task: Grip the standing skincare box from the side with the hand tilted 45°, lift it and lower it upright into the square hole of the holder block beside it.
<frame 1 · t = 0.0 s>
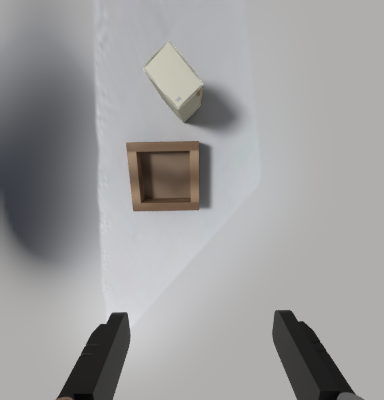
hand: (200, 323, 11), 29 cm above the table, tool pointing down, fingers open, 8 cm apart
holder block: (167, 174, 38), on the table
skincare box: (180, 100, 34), on the table
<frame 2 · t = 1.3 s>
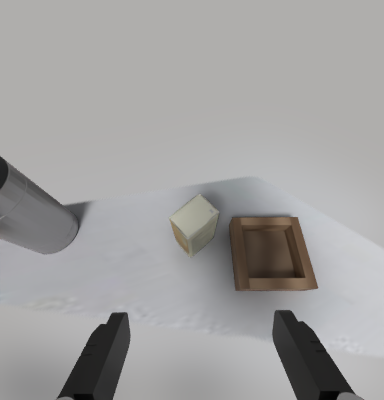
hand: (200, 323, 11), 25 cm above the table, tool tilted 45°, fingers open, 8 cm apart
holder block: (264, 255, 37), on the table
skincare box: (194, 240, 38), on the table
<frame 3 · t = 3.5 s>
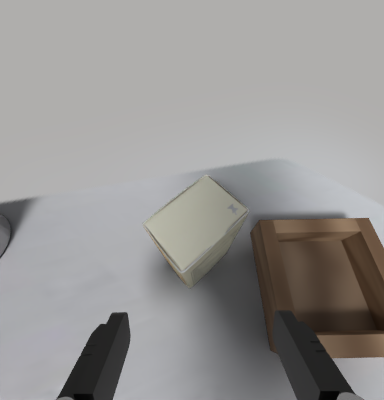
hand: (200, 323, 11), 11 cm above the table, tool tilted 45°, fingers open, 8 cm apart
holder block: (312, 282, 22), on the table
skincare box: (196, 258, 24), on the table
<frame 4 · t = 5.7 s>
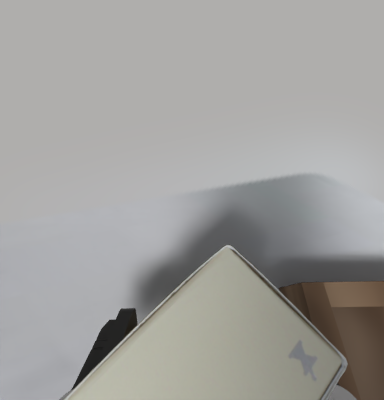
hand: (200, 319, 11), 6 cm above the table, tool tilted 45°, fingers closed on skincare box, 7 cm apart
holder block: (383, 379, 14), on the table
skincare box: (198, 331, 16), on the table, touching gripper
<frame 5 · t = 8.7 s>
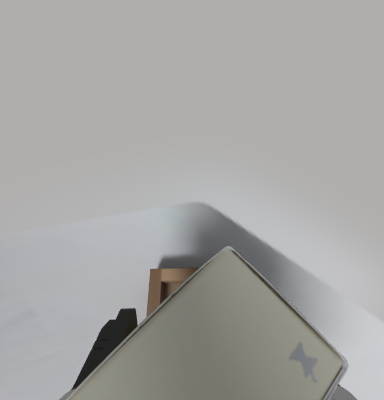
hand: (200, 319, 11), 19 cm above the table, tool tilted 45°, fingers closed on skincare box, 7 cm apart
holder block: (196, 319, 27), on the table
skincare box: (199, 331, 15), point 13 cm above the table, touching gripper
when the fingers open (8 cm above the table, at t = 11.9 s): skincare box drops 1 cm, resting on holder block.
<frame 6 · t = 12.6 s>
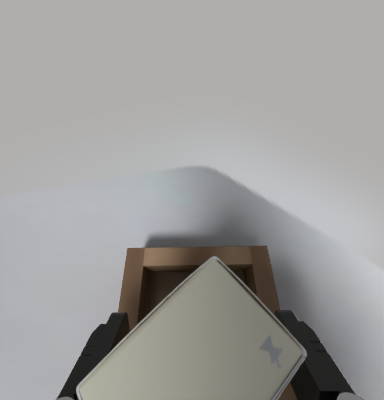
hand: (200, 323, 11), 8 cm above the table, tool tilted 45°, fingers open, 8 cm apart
holder block: (198, 326, 17), on the table
skincare box: (195, 329, 17), point 1 cm above the table, touching holder block
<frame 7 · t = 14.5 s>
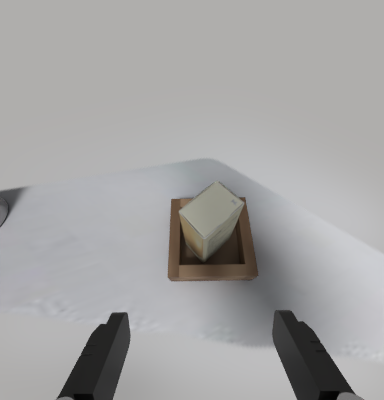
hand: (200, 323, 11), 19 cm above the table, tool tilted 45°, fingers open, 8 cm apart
holder block: (208, 241, 32), on the table
skincare box: (207, 241, 32), point 1 cm above the table, touching holder block
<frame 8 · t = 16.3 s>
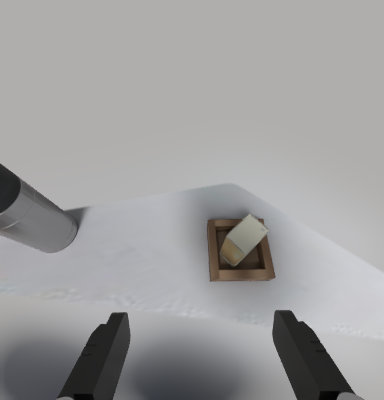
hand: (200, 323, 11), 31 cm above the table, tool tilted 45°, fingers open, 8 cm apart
holder block: (235, 251, 43), on the table
skincare box: (234, 251, 42), point 1 cm above the table, touching holder block
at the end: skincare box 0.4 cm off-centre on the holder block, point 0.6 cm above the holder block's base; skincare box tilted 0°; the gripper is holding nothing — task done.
